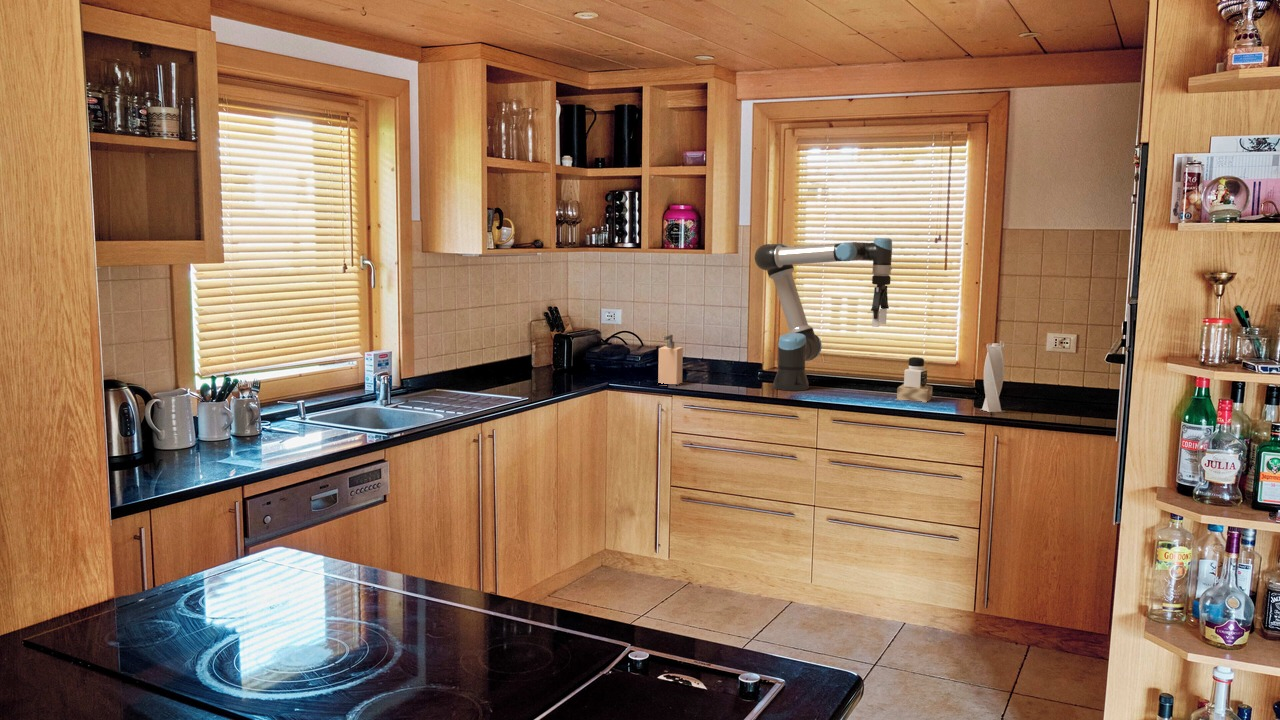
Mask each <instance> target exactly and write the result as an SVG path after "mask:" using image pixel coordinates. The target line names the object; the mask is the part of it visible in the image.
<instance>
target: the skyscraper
mask: <svg viewBox="0 0 1280 720" xmlns="http://www.w3.org/2000/svg"><path fill="white" fill-rule="evenodd" d="M1004 349H1005V342H1004V340H1000V341H999V343H997V342H995V343H993V342H992V343H987V344H986V350H987V353H986V356H985V360H984V365H983V366H984V367H983V387H984V388H983V389H984V394H985V398H984V401H983V405H982V408H979V411H981V410H983V411H982V412H984V411H987V412H1006V411H1005V410H1002V406H1001V402H1000V396H1001V395H1000V394H1001V392H1002V388H1003V383H1004V378H1005V360H1004V353H1003V351H1004ZM987 412H986V413H987Z"/></svg>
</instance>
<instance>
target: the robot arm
mask: <svg viewBox="0 0 1280 720" xmlns="http://www.w3.org/2000/svg"><path fill="white" fill-rule="evenodd" d="M892 255H893V240H892V239H891V238H887V237H886V238H885V237H884V238H882V237H881V238H879V237H877V238H874V240H873V242H858V241H851V242H850V241H849V242H840V243H828V244H825V243H824V244H814V245H799V246H797V245H796V246H788V245H786V244H782V243H767V244H763V245H760V246H759V247H758V248H757V249H756V251H755V252H754V262H755V264H756V266H757V267H758V268H759V269H761V270H763V271H766V272H767V276H768V278H769V279H771V280H773V282H774V285H775V290H776V293H777V296H778V298H779V302H780V304H781V307H782V308H781V309H782V311H783V314H784V315H783V316H784V318H785V321H786V323H787V327H788V330H789V331H788V333H785V334H782V335H780V336H779V339H778V343H777V344H778V345H777V346H778V347H777V348H778V349H777V351H778V353H777V355H778V357H777V359H778V360H777V372H776V375H775V378H774V380H773V384H772V386H773V388H774V390H775V389H776V390H781V391H789V392H790V391H794V392H795V391H796V392H798V391H805V390H806V391H807V390H809V384H810V383H809V381H808V377H807V374H806V362H809V361H813V360H814V359H816V358H817V357H818V356H819V355H820V353H821V351H822V347H823V345H822V341H821V339H820V337H819V336H818V335H816V334H815V331H814V327H813V326H811V325H809V324H808V320H807V317H806V314H805V312H804V309H803V305H802V302H801V298H800V295H799V292H798V289H797V285H796V283H795V280H794V276H793V272H794V271H795V269H794V268H795V267H794V265H803V264H805V265H807V264H820V263H822V264H823V263H833V262H850V261H852V262H853V261H854V262H855V261H872V274H873V275H872V278H871V284H872V285H876V286H875V287H874V291H873V292H874V293H873V298H872V305H871V308H870V311H871V312H872V321H871V323H872V324H871V326H872V328H873V327H875V328H879V327H880V325H887V313H888V312H887V310H889V303H888V302H889V301H888V300H889V298H888V297H889V296H888V286H890V285H891V274H892V270H893V266H892V260H893V259H892V257H893V256H892Z"/></svg>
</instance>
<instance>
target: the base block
mask: <svg viewBox="0 0 1280 720" xmlns="http://www.w3.org/2000/svg"><path fill="white" fill-rule="evenodd" d="M933 388H934V387H933V386H932V385H926V387H923V388H911V387H904V383H902V384H901V385H899V386H898V387H897V388H896V401H902V400H910V401H909V402H914V401H922V402H921V403H926V402H927V401H928V402H930V401H931V398H932V399H933ZM928 402H927V403H928Z"/></svg>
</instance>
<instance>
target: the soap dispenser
mask: <svg viewBox="0 0 1280 720" xmlns="http://www.w3.org/2000/svg"><path fill="white" fill-rule="evenodd" d="M673 338H674V337H673V334H668V335H664V337H663V340H664V341H667V345H664V346H660V347H658V371H657V372H658V374H657V375H658V377H657V378H658V379H657V380H658V381H657V382H658V383H661V384H663V383H664V384H679V383H682V384H683V358H684V354H683V353H684V347H682V346H675V341H674V340H673ZM658 383H657V384H658Z"/></svg>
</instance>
